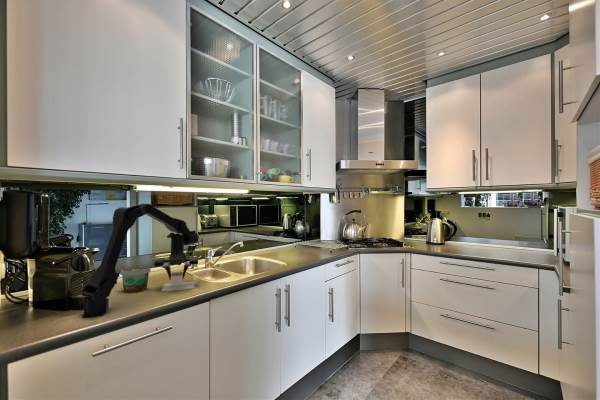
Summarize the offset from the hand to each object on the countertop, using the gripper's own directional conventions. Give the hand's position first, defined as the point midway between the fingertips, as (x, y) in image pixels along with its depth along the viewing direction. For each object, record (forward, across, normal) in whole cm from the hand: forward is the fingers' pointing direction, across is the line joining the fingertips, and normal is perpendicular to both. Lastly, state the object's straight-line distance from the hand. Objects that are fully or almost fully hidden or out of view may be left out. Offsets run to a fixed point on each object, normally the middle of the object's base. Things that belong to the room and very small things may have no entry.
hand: (176, 279), depth 131 cm
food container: (+4, -18, 0) cm, 18 cm away
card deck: (+2, 0, 0) cm, 2 cm away
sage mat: (+4, +1, +1) cm, 4 cm away
